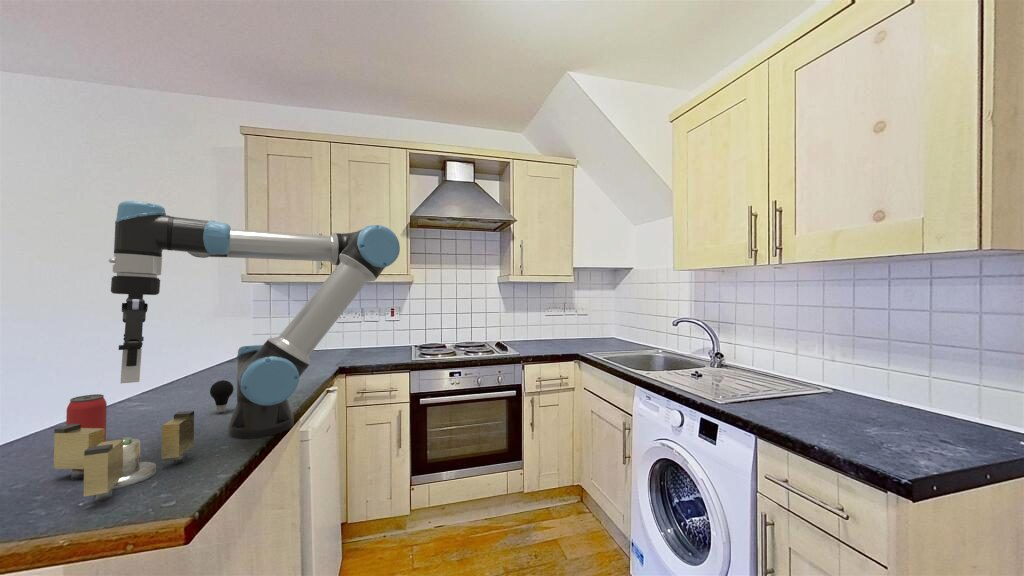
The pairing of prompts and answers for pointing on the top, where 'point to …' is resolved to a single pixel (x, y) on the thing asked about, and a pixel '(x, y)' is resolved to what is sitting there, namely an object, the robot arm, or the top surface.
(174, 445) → the gold angular block
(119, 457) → the brass angular block
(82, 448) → the brass wedge block
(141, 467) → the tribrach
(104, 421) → the beer can
